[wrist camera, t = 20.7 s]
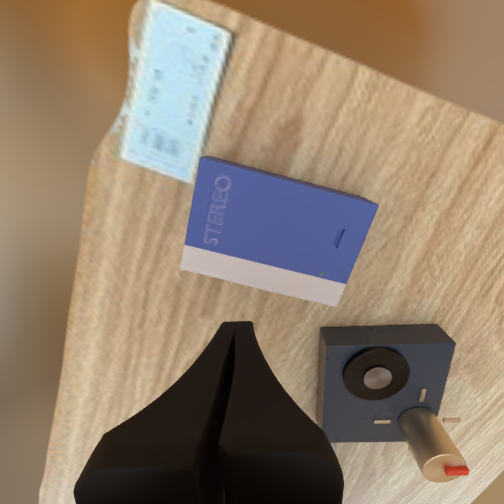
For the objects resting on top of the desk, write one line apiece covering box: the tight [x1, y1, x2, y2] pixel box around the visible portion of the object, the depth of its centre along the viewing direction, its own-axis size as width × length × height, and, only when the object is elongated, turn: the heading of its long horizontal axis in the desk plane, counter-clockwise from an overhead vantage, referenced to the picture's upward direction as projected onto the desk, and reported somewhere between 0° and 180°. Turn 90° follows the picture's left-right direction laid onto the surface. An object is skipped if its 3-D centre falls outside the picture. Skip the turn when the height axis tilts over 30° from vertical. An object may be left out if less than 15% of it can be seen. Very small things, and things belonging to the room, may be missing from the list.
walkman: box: [180, 156, 379, 307], centre depth 20 cm, size 8×3×12 cm
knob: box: [398, 407, 469, 482], centre depth 23 cm, size 3×3×4 cm
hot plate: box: [316, 324, 461, 450], centre depth 25 cm, size 12×12×3 cm
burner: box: [342, 346, 410, 401], centre depth 23 cm, size 5×5×1 cm
